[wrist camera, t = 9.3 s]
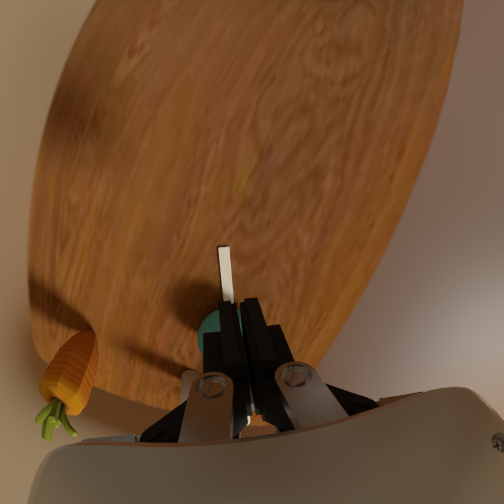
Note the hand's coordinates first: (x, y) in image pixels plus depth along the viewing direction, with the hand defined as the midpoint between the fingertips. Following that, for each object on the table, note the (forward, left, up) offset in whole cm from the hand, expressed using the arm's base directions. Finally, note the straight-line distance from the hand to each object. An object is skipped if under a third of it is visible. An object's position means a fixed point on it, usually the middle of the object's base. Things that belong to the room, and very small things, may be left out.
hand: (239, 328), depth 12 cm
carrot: (+10, -16, -15) cm, 24 cm away
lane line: (+6, 0, -15) cm, 16 cm away
